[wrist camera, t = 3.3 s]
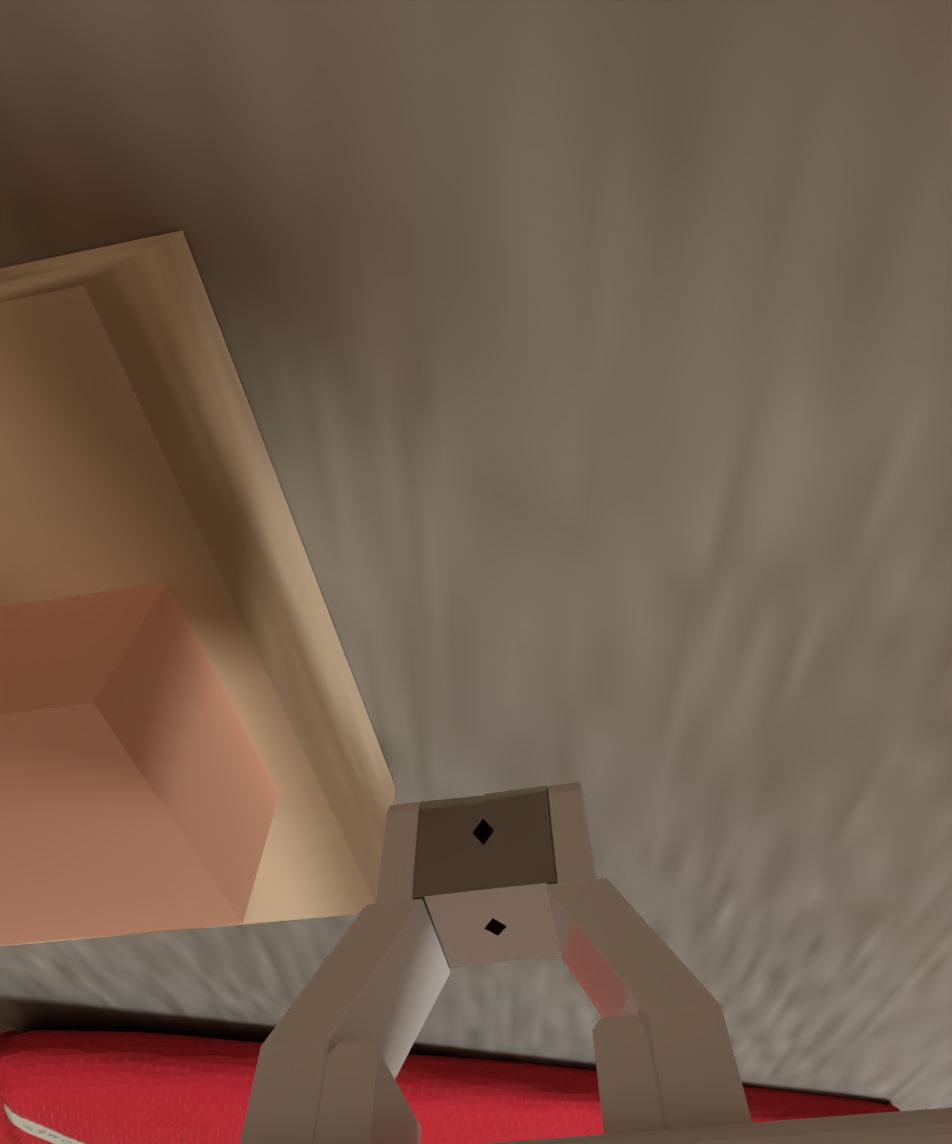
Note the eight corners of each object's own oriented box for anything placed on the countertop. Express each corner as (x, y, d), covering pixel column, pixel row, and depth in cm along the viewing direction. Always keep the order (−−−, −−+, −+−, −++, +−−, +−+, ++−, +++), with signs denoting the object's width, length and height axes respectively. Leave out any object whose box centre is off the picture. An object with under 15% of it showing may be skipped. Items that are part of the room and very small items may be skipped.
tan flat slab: (182, 230, 14) (84, 285, 10) (395, 787, 23) (379, 912, 19) (-370, 346, 15) (-612, 427, 12) (37, 827, 24) (-34, 949, 21)
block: (167, 582, 13) (93, 702, 11) (279, 794, 17) (242, 923, 14) (-221, 640, 14) (-371, 762, 12) (-41, 830, 17) (-127, 956, 15)
